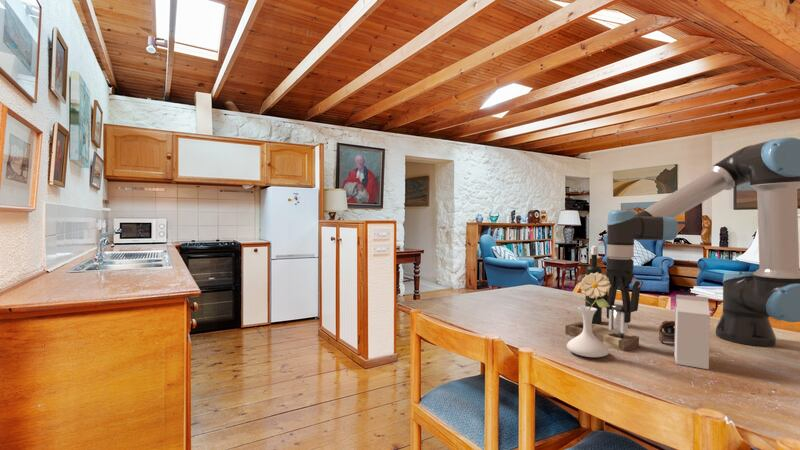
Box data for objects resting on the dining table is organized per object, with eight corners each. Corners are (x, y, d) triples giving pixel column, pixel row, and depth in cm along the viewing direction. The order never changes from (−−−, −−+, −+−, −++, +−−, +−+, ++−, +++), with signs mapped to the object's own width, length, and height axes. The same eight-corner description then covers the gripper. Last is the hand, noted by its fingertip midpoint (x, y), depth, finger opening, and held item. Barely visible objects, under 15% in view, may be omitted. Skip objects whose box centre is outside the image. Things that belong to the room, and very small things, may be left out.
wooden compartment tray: (638, 346, 121) (639, 336, 121) (623, 351, 117) (623, 341, 117) (580, 330, 138) (580, 321, 138) (565, 334, 134) (565, 325, 134)
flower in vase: (558, 350, 117) (559, 269, 117) (584, 345, 122) (586, 267, 121) (594, 365, 105) (596, 275, 105) (623, 359, 110) (624, 273, 109)
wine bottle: (583, 319, 153) (584, 245, 152) (598, 320, 152) (599, 245, 151) (588, 323, 147) (589, 246, 146) (603, 324, 146) (605, 246, 146)
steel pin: (621, 348, 120) (621, 307, 119) (607, 344, 123) (608, 305, 123) (628, 345, 122) (629, 306, 122) (614, 342, 125) (615, 303, 125)
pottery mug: (703, 350, 120) (696, 329, 118) (673, 361, 121) (665, 340, 120) (678, 329, 131) (671, 310, 130) (651, 339, 133) (643, 321, 131)
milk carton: (708, 370, 102) (710, 299, 102) (676, 364, 106) (677, 296, 106) (704, 361, 109) (706, 295, 108) (674, 356, 112) (675, 292, 112)
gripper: (653, 260, 117) (651, 335, 117) (601, 255, 131) (600, 323, 131) (640, 261, 113) (638, 339, 114) (589, 256, 127) (587, 326, 127)
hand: (618, 330), depth 122 cm, fingers closed on steel pin, 3 cm apart
